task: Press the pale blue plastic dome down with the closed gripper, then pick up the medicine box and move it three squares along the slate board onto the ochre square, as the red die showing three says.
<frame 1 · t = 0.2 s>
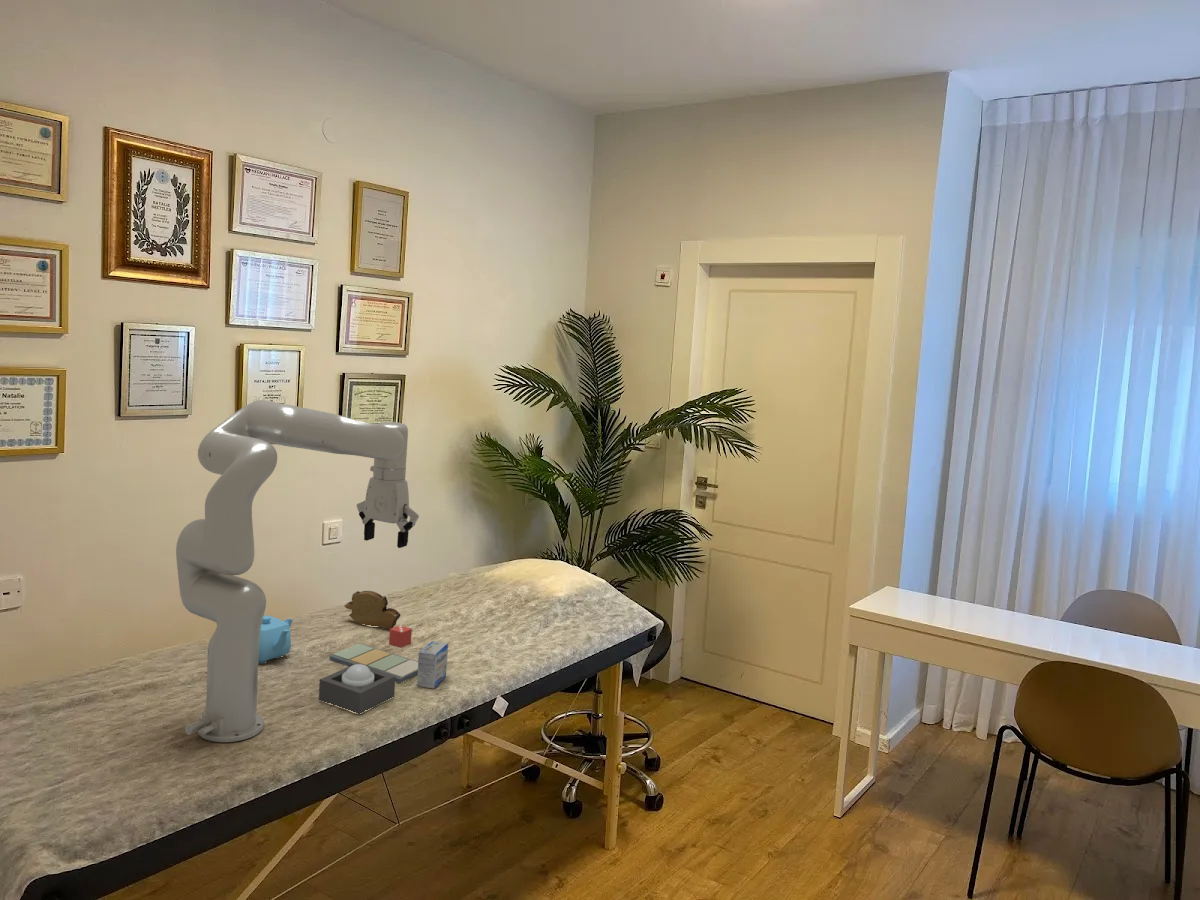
hand: (385, 543, 218), 31 cm above the table, tool pointing down, fingers open, 9 cm apart
die: (400, 643, 236), on the table
game board: (379, 664, 222), on the table
dome housing: (356, 698, 202), on the table
wooden carving: (371, 626, 247), on the table
dome: (358, 677, 201), point 5 cm above the table, slide at 0.0 cm
medicine box: (431, 682, 215), on the table
teapot: (267, 656, 221), on the table
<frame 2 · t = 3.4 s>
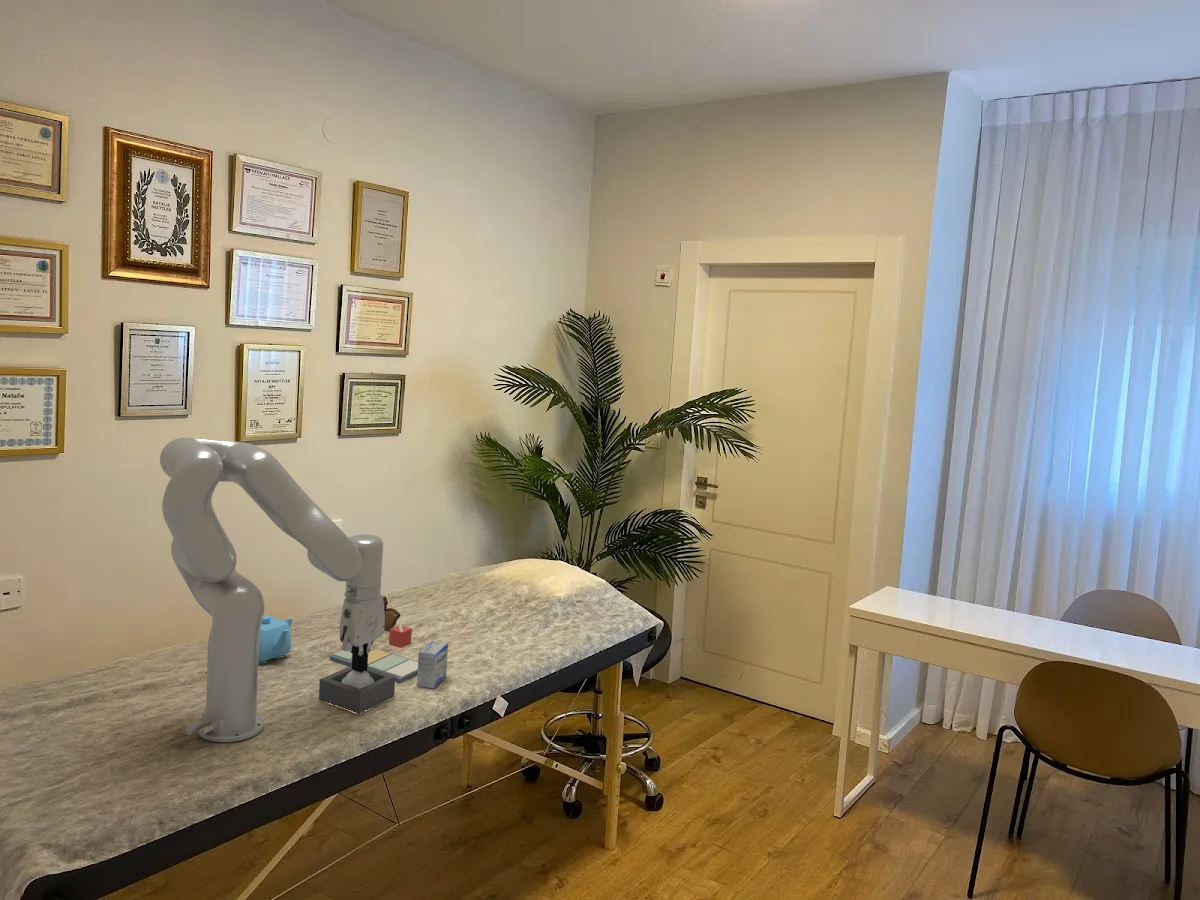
hand: (359, 669, 201), 7 cm above the table, tool pointing down, fingers closed
dome: (357, 682, 201), point 4 cm above the table, slide at -1.2 cm, touching gripper
everything else where it was.
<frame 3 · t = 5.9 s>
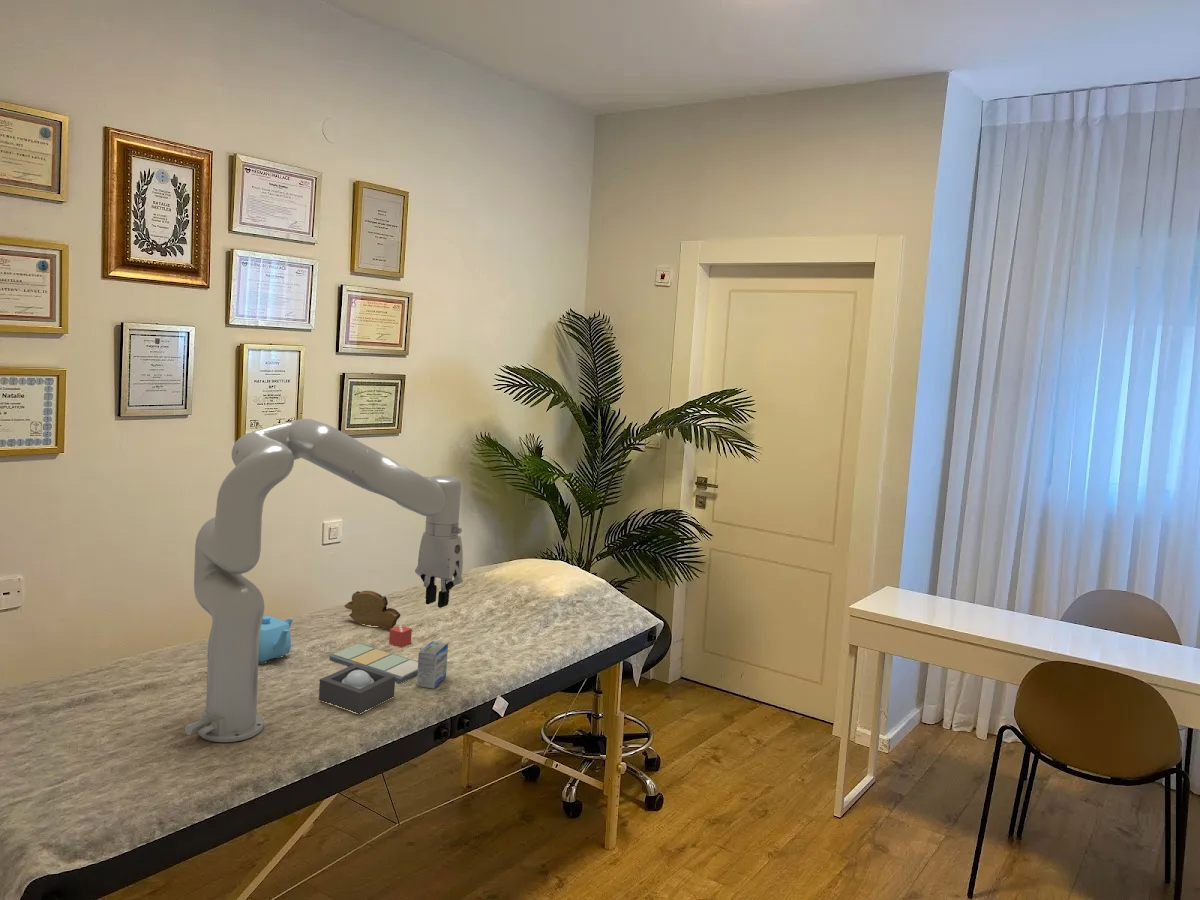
hand: (436, 603, 212), 19 cm above the table, tool pointing down, fingers closed
dome: (357, 683, 201), point 4 cm above the table, slide at -1.4 cm
everything else where it was.
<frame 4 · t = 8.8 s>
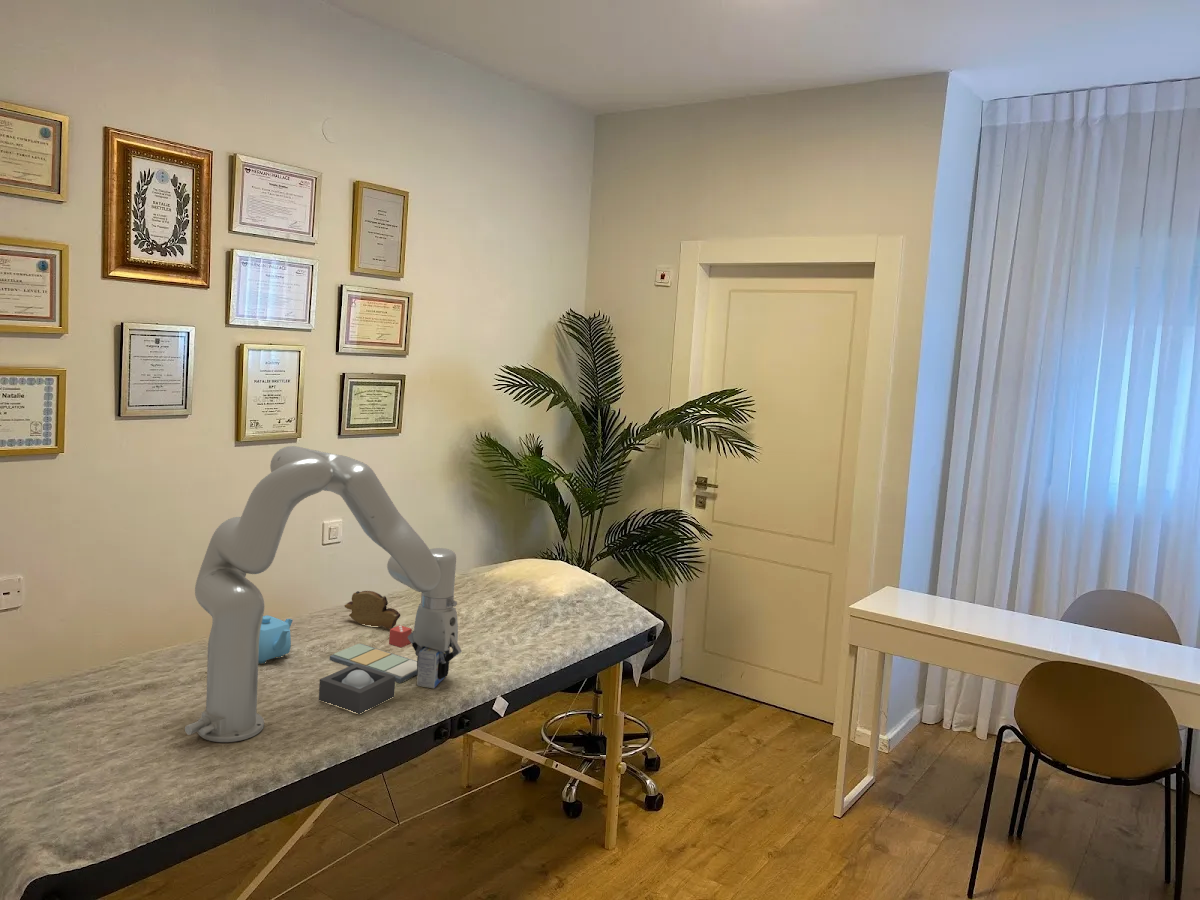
hand: (432, 673, 215), 2 cm above the table, tool pointing down, fingers closed on medicine box, 5 cm apart
medicine box: (431, 682, 215), on the table, touching gripper
everything else where it was.
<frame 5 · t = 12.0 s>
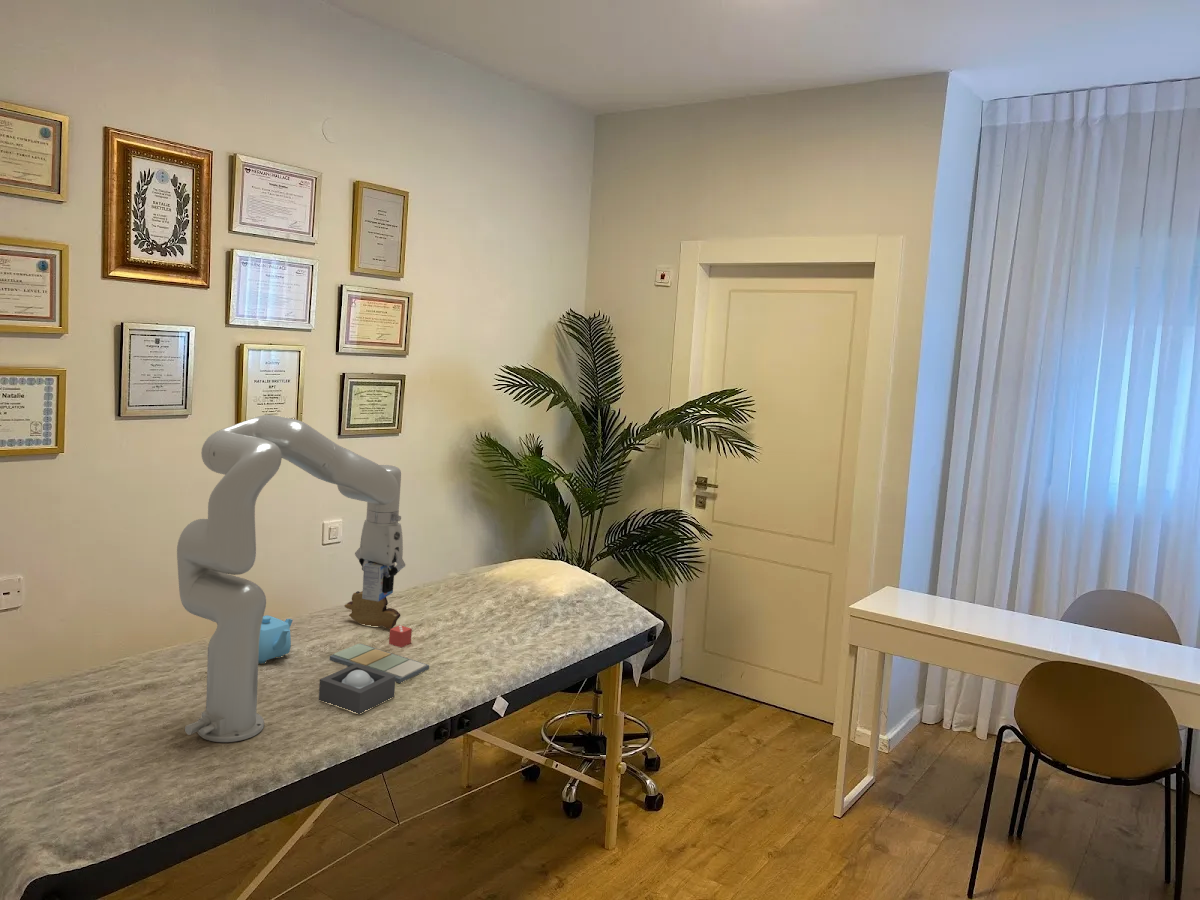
hand: (378, 588, 220), 19 cm above the table, tool pointing down, fingers closed on medicine box, 5 cm apart
medicine box: (377, 597, 220), point 17 cm above the table, touching gripper
everything else where it was.
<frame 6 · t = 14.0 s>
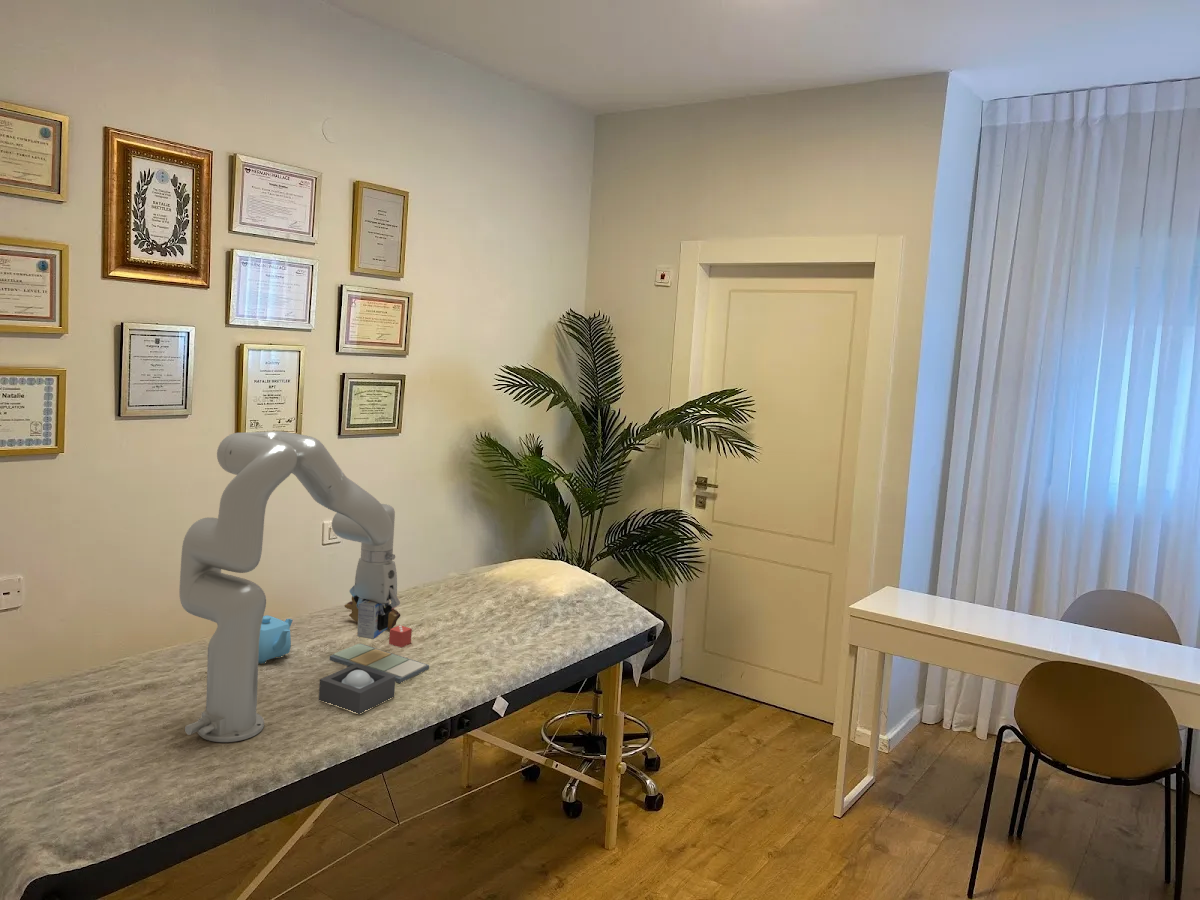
hand: (372, 625, 222), 9 cm above the table, tool pointing down, fingers closed on medicine box, 5 cm apart
medicine box: (372, 633, 222), point 7 cm above the table, touching gripper
everything else where it was.
when the fingers open (4 cm above the table, at t = 15.4 s): medicine box stays where it is, resting on game board.
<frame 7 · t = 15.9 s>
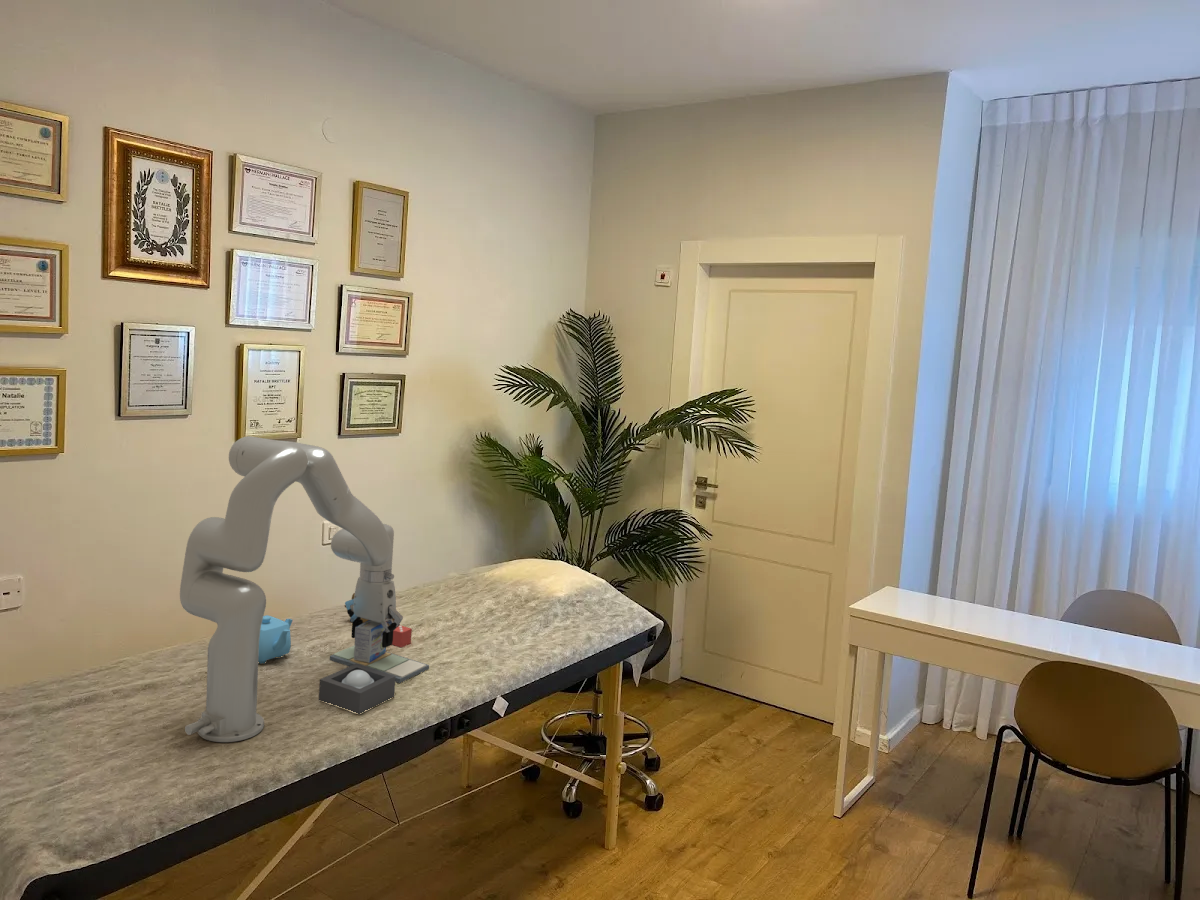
hand: (371, 641, 222), 5 cm above the table, tool pointing down, fingers open, 9 cm apart
medicine box: (369, 657, 223), point 1 cm above the table, touching game board
everything else where it was.
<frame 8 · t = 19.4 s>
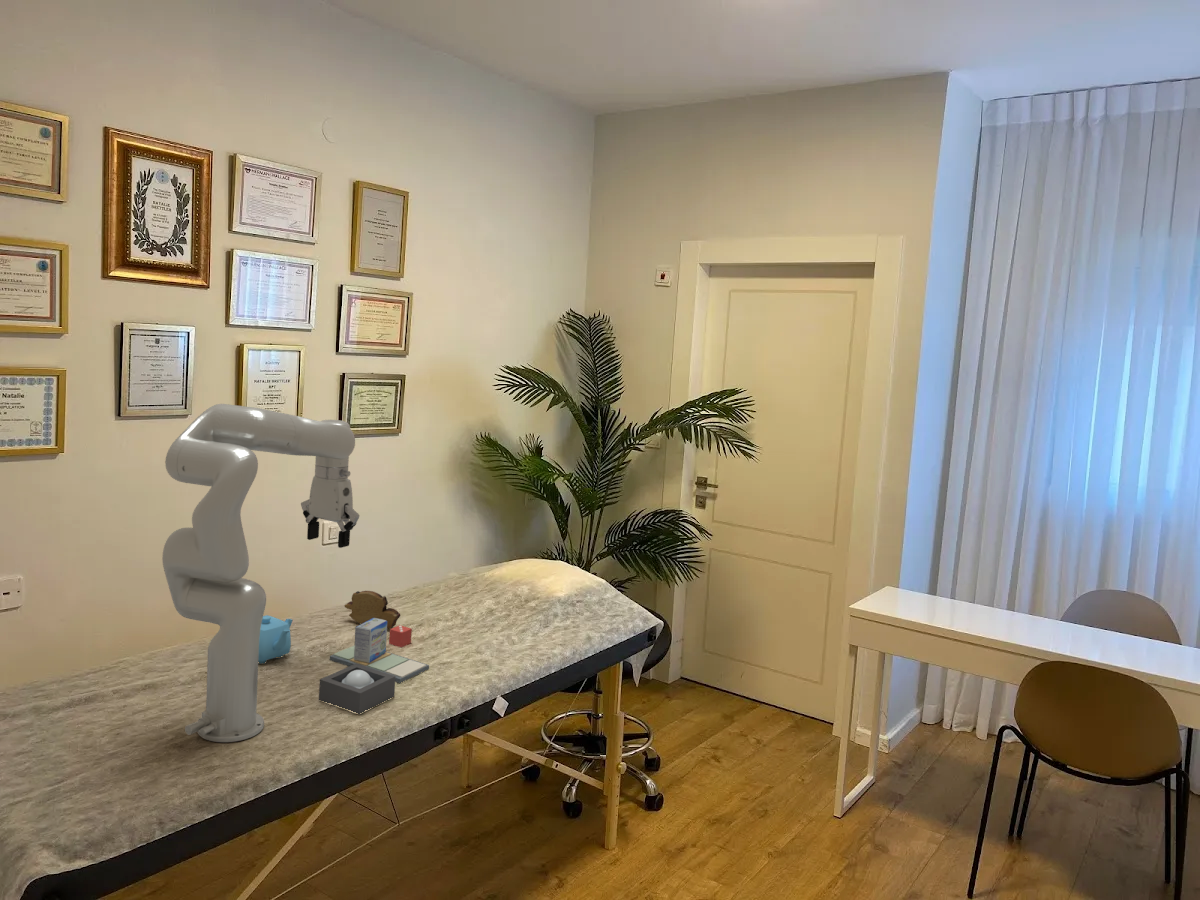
hand: (328, 542, 215), 30 cm above the table, tool pointing down, fingers open, 9 cm apart
nothing on the table moved.
at the end: dome slide at -1.4 cm; medicine box 0.3 cm from the target spot, point 1.1 cm above the table; medicine box tilted 0° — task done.
